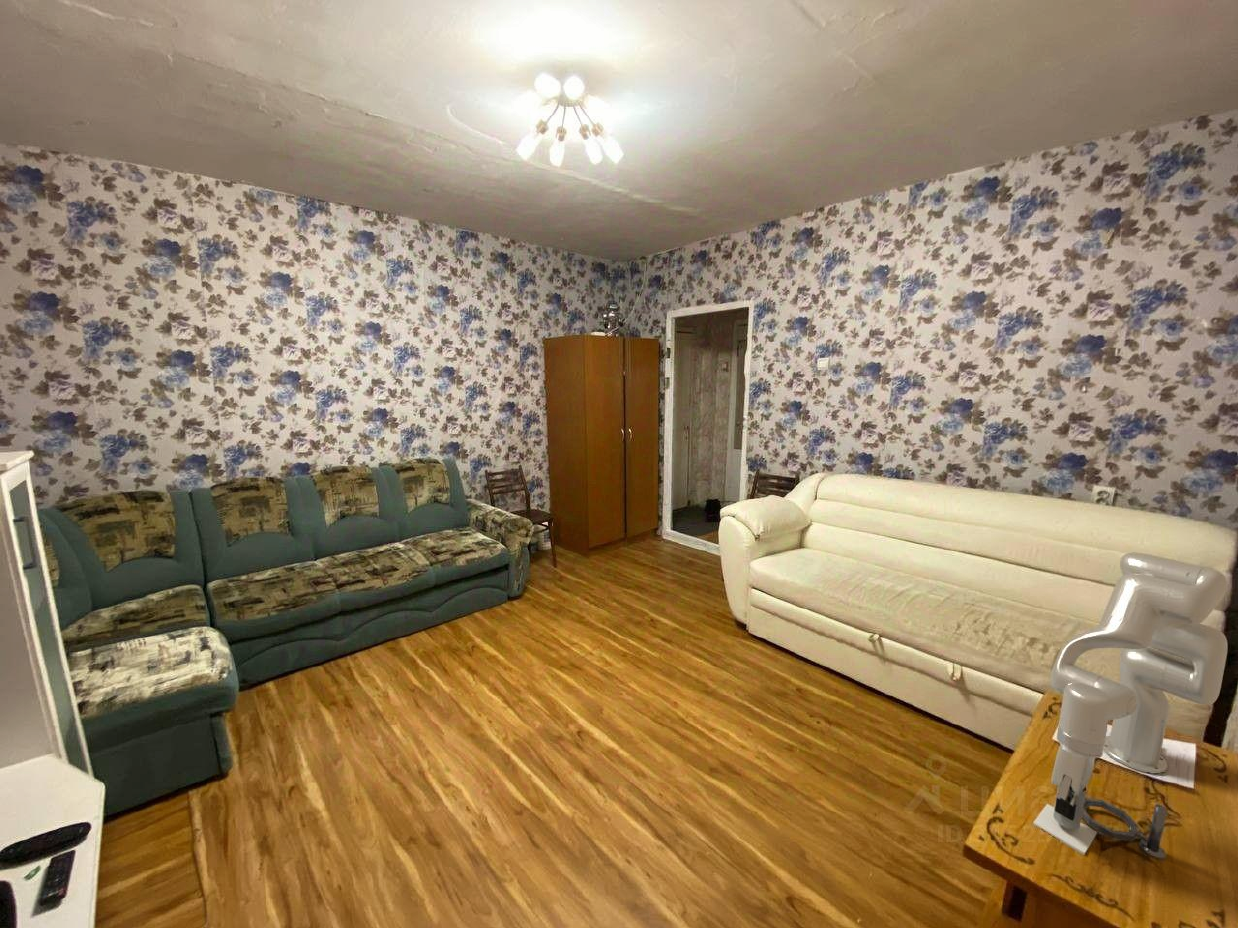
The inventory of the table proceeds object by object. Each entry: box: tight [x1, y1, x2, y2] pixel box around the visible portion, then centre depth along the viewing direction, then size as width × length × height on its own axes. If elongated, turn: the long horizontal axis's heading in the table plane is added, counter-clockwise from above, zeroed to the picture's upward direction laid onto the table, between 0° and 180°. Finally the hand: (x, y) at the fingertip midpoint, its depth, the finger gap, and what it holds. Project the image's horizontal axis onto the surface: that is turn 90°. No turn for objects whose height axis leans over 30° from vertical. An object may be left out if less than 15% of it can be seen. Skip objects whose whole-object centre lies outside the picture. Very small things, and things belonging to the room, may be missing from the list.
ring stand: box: [1081, 797, 1168, 860], centre depth 111 cm, size 10×14×11 cm
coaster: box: [1032, 803, 1098, 856], centre depth 113 cm, size 9×9×1 cm
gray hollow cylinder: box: [1053, 784, 1087, 830], centre depth 112 cm, size 4×4×10 cm
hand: (1068, 808), depth 113 cm, fingers closed on gray hollow cylinder, 4 cm apart
